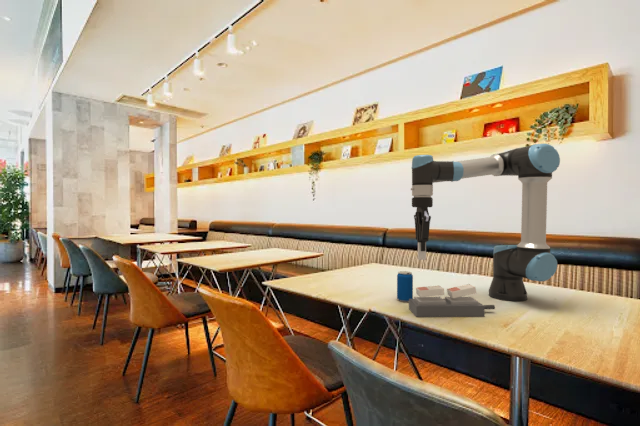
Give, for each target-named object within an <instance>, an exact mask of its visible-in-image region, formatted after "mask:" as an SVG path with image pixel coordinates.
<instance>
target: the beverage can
mask: <svg viewBox="0 0 640 426" xmlns="http://www.w3.org/2000/svg"><path fill="white" fill-rule="evenodd" d="M413 280H414V275H413V273H412V272H411V271H406V270H405V271H404V270H402V271H398V272H397V275H396V299H397V300H398V301H399V302H401V303H402V302H403V303H409V299H414V297H413V296H414V295H413V293H414V292H413V291H414V290H413V289H414V288H413V287H414V283H413V282H414V281H413Z"/></svg>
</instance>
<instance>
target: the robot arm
mask: <svg viewBox="0 0 640 426" xmlns="http://www.w3.org/2000/svg"><path fill="white" fill-rule="evenodd" d="M411 161H412V162H411V188H410V191H411V196H413V197H412V198H411V206H412V208H416V209H415V211H416V212H415V213H414V215H413V219H414V230H415V239H416V240H417V260H418V261H421V260H422V261H425V260H427V242H429V238H430V237H429V236H430V228H431V227H430V224H431V218H432V215H430V213H429V209H428V208H433V203H434V202H433V201H434V199H433V197H432V196H433V194H434V183H442V182H443V183H444V182H450V183H454V182H459V181H460V180H461V179H469V178H476V177H483V176H484V177H485V176H490V175H491V176H493V177H500V176H506V177H507V176H512V177H513V176H518V177H517V179H518V180H519V181H520V182H521V189H522V190H521V222H520V223H521V225H520V226H521V229H520V242H519V243H518V244H509V245H508V244H505V245H503V244H502V245H501V244H500V245H495V246H494V247H493V253H492V256H493V257H492V271H493V273H492V274H493V275H492V280H491V283H490V286H489V288H488V296H489V297H490V298H493V299H497V300H503V301H510V302H523V301H526V300H528V292H527V289H526V287H525V282H524V279H527V280H530V281H532V282H533V281H535V282H539V283H540V282H546V281H549V280H550V279H551V278H552V277H553V276H554V275H555V274H556V273H557V269H558V260H557V258H556V257H555V255H554V254H552V253H551V247H550V245H548V243H547V213H548V212H547V211H548V210H547V208H548V206H547V205H548V182H550V181H551V180H552V179H553V173H554V172H555V171H556V170H558V168H559V167H560V163H561V158H560V154H559V152H558V150H557V149H555V147H554V146H553V145H551V144H549V143H535V144H532V145H526V146H522V147H516V148H514V149H510V150H507V151H504V152H500V153H495V154H491V156H490V157H489V156H488V157H479V158H473V159H472V158H471V159H465V160H458V161H457V160H456V161H454V160H452V161H448V160H447V161H443V160H442V161H440V160H439V161H438V160H434V156H433V155H431V154H419V155H418V154H417V155H414V156H413V157H412V160H411Z"/></svg>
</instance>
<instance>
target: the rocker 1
mask: <svg viewBox="0 0 640 426" xmlns="http://www.w3.org/2000/svg"><path fill="white" fill-rule="evenodd" d="M415 293H416V296H417V297H440V296H445V288H444V287H442V286H441V285H430V286H417V287H415Z"/></svg>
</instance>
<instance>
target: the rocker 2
mask: <svg viewBox="0 0 640 426" xmlns="http://www.w3.org/2000/svg"><path fill="white" fill-rule="evenodd" d="M446 293H447V296H448V297H452V298H457V297H468V296H471V295H475V294H477V289H476V286H474V285H472V284H470V283H468V284H463V285H457V286H454V287H449V288H446Z"/></svg>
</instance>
